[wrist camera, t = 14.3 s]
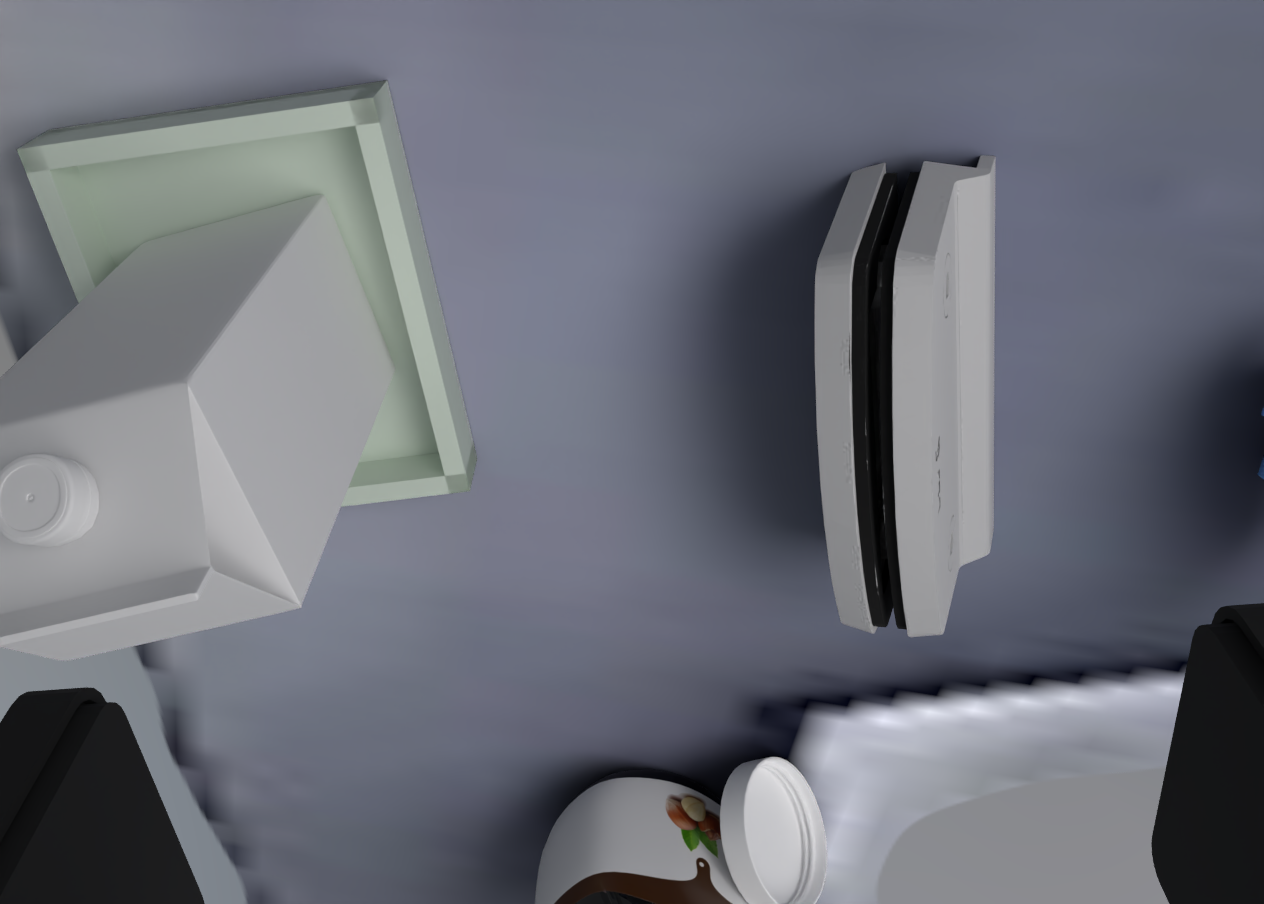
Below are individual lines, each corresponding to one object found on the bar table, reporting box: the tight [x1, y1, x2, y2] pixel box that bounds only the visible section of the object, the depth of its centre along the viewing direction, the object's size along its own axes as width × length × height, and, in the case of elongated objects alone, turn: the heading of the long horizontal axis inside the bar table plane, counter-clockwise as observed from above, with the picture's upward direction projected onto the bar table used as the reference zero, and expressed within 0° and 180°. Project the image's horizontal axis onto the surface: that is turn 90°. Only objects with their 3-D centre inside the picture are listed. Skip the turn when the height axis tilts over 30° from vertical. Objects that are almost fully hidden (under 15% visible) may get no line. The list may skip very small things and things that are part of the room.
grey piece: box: [815, 155, 995, 637], centre depth 42 cm, size 17×5×10 cm, turn 8°
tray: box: [17, 80, 477, 507], centre depth 43 cm, size 15×12×2 cm
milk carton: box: [0, 194, 395, 661], centre depth 35 cm, size 7×7×19 cm
